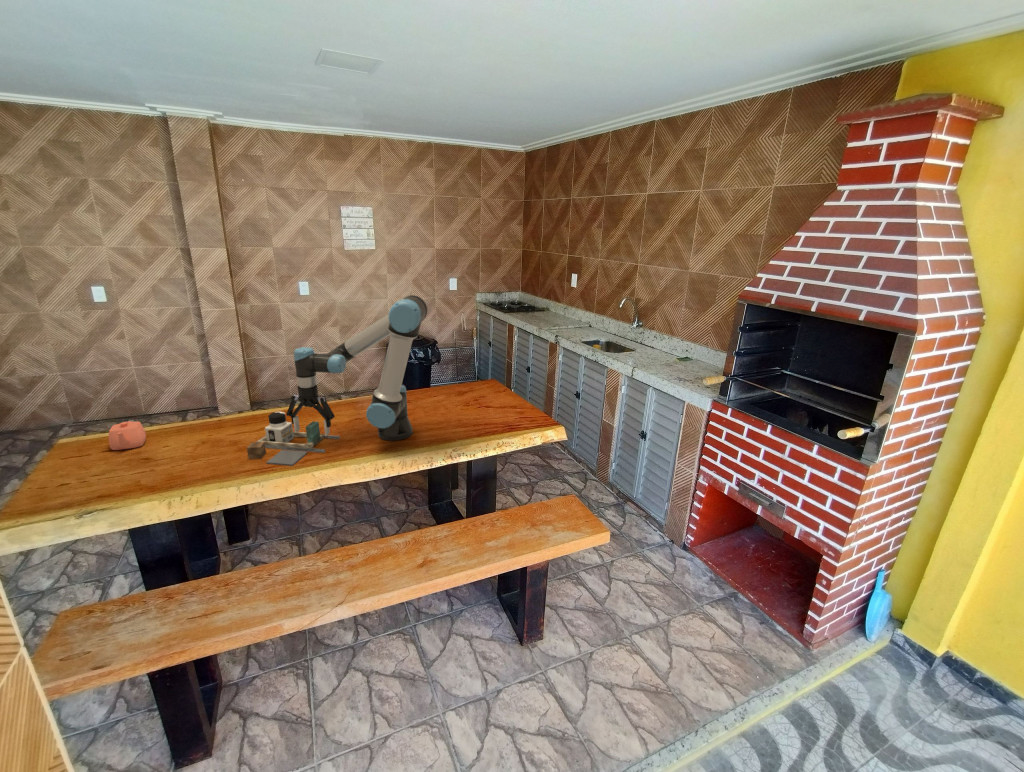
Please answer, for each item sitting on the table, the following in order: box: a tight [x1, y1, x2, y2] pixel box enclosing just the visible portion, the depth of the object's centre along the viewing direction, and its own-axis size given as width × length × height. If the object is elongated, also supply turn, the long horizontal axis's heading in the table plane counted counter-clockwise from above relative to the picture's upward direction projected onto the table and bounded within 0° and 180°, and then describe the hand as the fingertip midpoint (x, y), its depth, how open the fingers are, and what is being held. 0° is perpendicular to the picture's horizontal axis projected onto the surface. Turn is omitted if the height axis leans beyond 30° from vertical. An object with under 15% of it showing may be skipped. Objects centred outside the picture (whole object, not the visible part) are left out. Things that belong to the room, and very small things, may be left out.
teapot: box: [108, 420, 147, 451], centre depth 203 cm, size 12×18×10 cm, turn 25°
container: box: [264, 411, 295, 443], centre depth 210 cm, size 8×8×13 cm
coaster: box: [266, 449, 308, 467], centre depth 197 cm, size 11×11×1 cm
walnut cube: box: [246, 441, 267, 460], centre depth 198 cm, size 5×5×5 cm
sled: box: [257, 420, 325, 448], centre depth 210 cm, size 23×12×9 cm, turn 82°
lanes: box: [255, 434, 341, 454], centre depth 211 cm, size 32×14×1 cm, turn 82°
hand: (312, 432), depth 208 cm, fingers open, 13 cm apart
